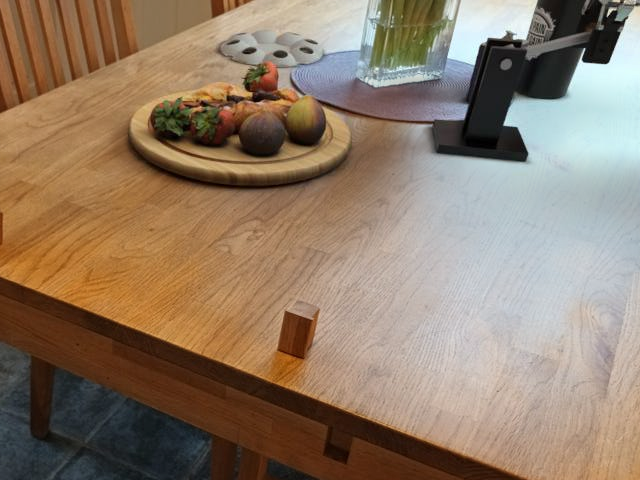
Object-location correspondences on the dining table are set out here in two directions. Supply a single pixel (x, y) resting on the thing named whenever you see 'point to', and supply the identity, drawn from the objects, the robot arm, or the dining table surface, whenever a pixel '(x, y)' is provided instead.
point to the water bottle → (557, 65)
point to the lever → (560, 41)
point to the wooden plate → (241, 133)
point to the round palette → (272, 49)
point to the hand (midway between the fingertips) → (588, 53)
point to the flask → (479, 58)
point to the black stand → (488, 108)
